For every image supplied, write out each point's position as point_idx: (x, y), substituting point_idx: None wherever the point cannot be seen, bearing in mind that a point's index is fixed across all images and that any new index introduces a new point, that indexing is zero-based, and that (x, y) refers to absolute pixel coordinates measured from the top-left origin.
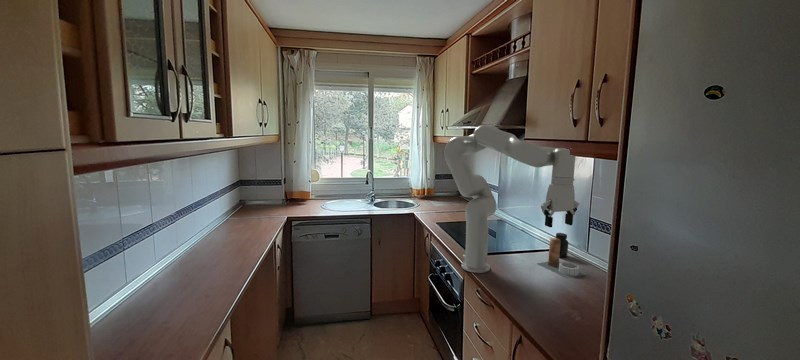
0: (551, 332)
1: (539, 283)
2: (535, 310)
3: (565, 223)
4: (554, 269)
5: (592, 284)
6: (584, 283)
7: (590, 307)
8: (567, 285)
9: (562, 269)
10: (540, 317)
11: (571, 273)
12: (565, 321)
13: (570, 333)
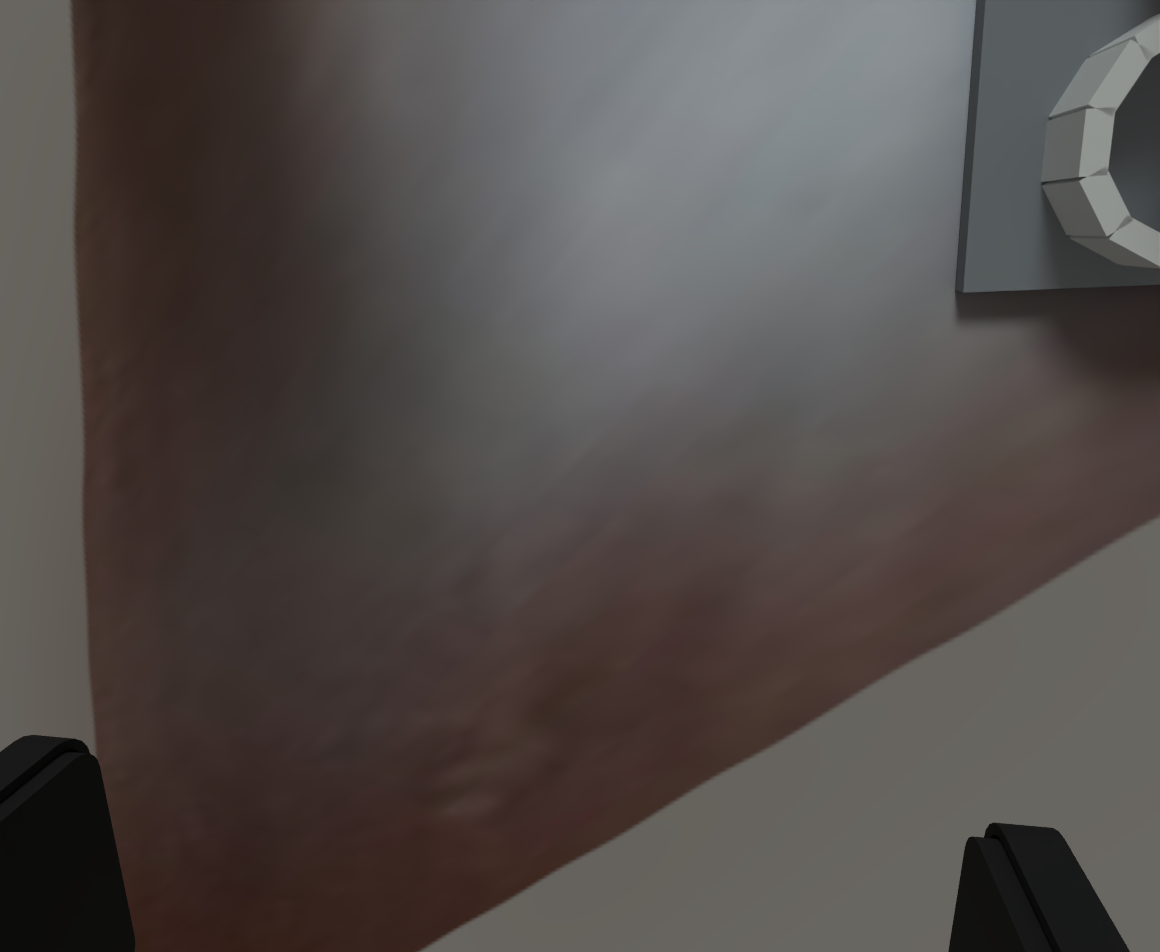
0: (203, 844)
1: (605, 259)
2: (255, 636)
3: (967, 854)
4: (1061, 10)
5: (1137, 462)
6: (1077, 415)
7: (680, 750)
8: (851, 393)
9: (1065, 149)
10: (235, 712)
11: (1103, 249)
12: (361, 802)
13: (301, 890)
